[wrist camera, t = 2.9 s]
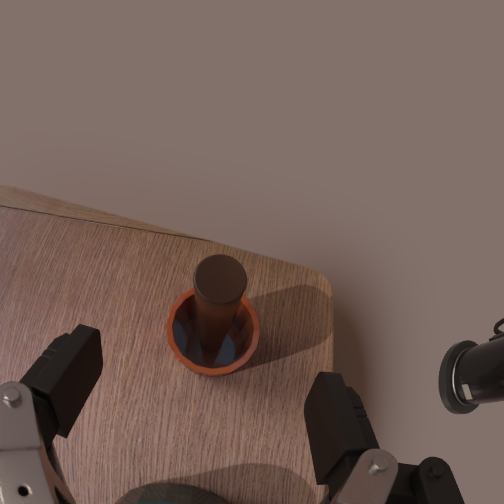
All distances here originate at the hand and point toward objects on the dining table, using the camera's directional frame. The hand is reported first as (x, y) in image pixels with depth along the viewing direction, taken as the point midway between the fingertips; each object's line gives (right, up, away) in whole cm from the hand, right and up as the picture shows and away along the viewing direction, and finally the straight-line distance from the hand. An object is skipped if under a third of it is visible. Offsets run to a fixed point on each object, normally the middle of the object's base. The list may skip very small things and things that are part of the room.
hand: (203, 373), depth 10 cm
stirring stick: (-2, -5, +18) cm, 19 cm away
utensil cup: (-2, -5, +19) cm, 20 cm away
